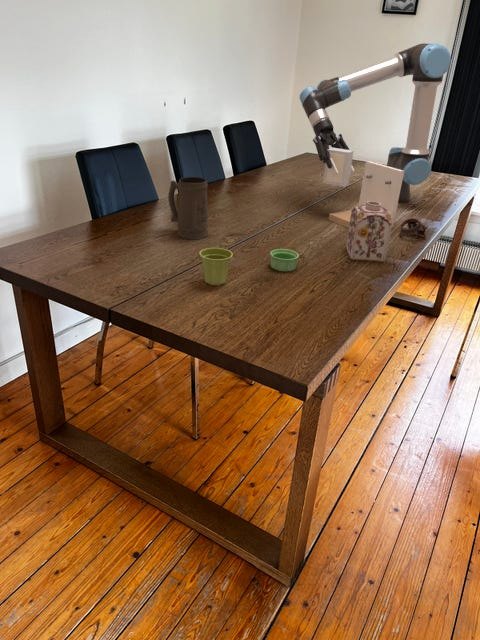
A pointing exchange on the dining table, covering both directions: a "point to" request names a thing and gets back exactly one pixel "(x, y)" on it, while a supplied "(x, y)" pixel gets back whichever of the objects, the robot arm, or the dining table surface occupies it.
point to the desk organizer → (376, 190)
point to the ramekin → (284, 259)
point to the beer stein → (190, 207)
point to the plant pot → (215, 264)
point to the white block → (339, 167)
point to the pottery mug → (413, 227)
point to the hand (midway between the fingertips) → (343, 173)
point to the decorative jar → (369, 232)
